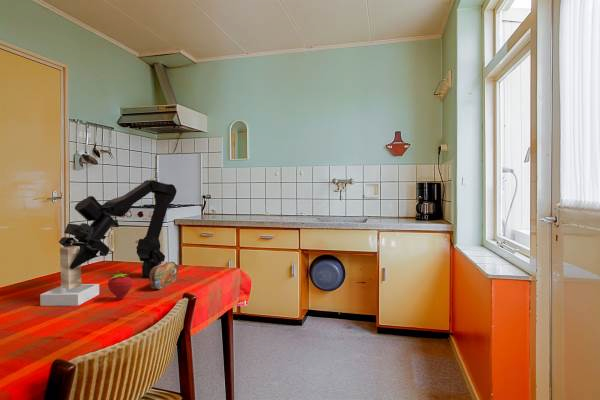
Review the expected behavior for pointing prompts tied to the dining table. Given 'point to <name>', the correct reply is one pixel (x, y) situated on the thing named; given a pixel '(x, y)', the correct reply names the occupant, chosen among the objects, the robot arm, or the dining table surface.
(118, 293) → the strawberry
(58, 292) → the box
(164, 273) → the tin
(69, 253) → the birch block
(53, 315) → the dining table surface
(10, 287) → the dining table surface
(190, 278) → the dining table surface
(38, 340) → the dining table surface
